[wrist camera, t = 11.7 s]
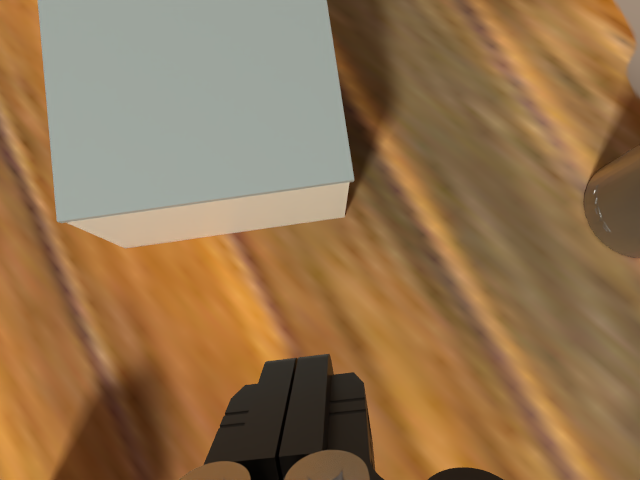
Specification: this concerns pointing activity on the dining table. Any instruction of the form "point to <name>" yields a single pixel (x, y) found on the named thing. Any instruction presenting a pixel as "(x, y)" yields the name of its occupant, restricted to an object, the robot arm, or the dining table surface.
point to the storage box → (220, 216)
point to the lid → (189, 102)
